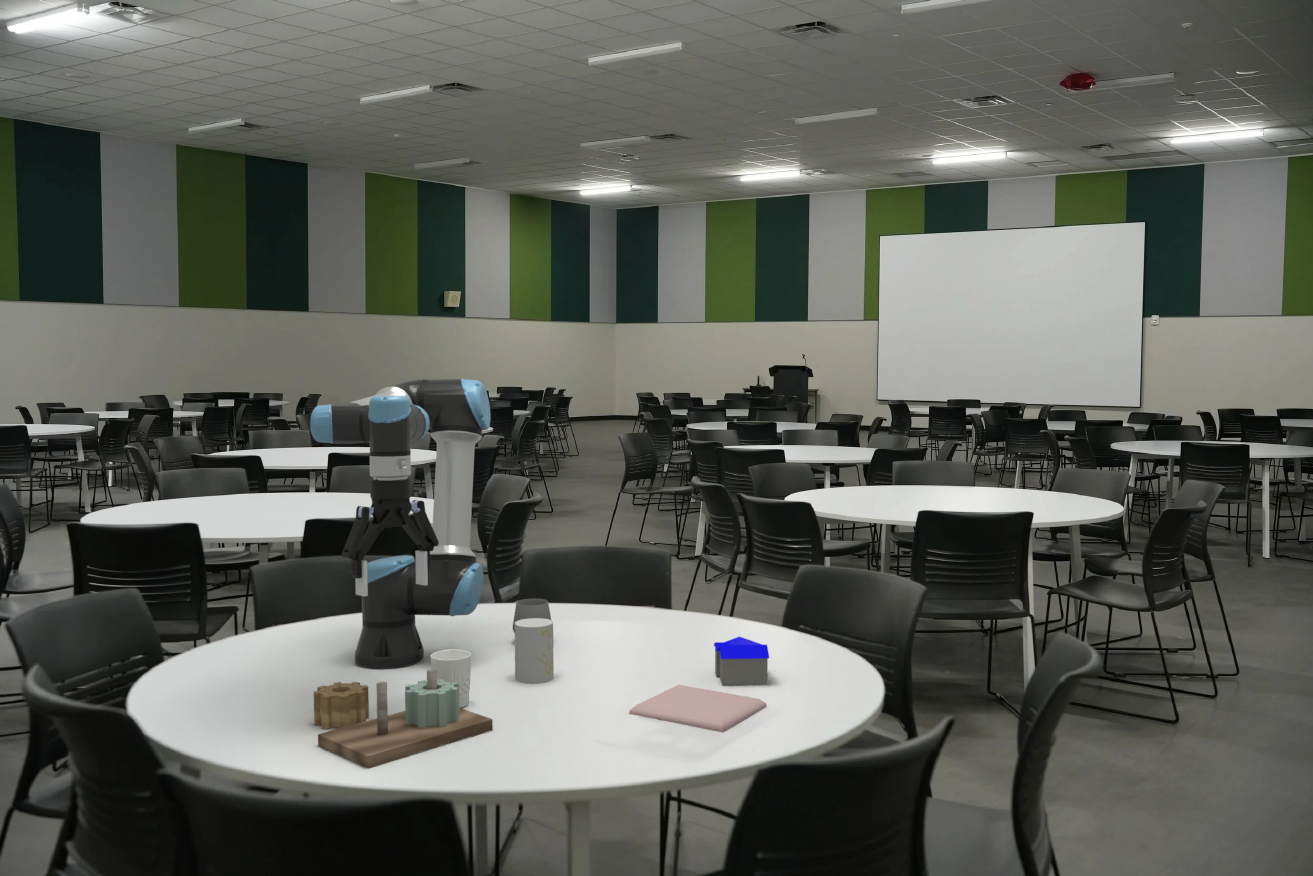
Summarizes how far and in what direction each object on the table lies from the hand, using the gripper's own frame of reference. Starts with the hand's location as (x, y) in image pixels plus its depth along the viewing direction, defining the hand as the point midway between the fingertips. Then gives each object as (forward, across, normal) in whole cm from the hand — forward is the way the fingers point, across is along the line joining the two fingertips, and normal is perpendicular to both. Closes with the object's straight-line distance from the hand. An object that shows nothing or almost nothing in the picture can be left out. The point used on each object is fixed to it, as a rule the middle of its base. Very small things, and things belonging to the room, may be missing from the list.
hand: (392, 590), depth 208 cm
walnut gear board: (+24, -6, -12) cm, 28 cm away
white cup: (+24, +12, -3) cm, 27 cm away
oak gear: (+24, -8, +5) cm, 26 cm away
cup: (+24, +54, +20) cm, 63 cm away
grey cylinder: (+24, +34, -2) cm, 42 cm away
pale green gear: (+22, 0, -12) cm, 25 cm away
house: (+24, +63, -36) cm, 76 cm away
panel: (+25, +32, -41) cm, 57 cm away
